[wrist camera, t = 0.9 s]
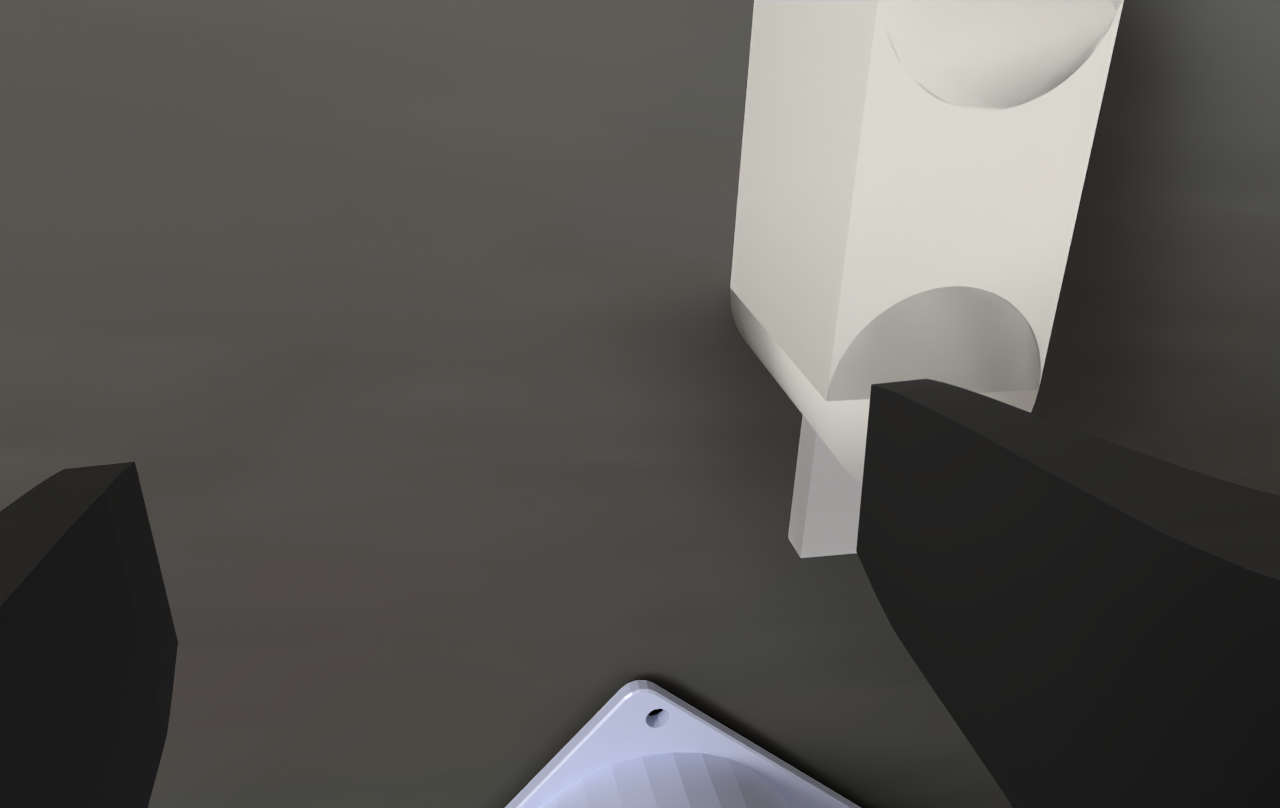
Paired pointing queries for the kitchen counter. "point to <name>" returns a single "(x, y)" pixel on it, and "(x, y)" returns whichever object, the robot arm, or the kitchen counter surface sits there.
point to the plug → (907, 209)
